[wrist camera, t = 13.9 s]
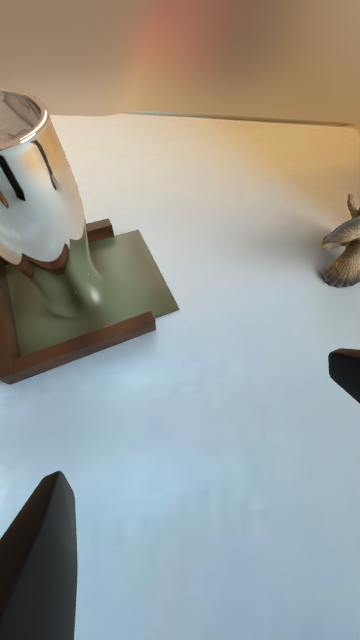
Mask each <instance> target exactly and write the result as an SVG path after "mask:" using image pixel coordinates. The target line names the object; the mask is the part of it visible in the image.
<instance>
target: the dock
mask: <svg viewBox="0 0 360 640" xmlns="http://www.w3.org/2000/svg"><path fill="white" fill-rule="evenodd" d="M86 227H87V234H88V243H89V250H90V256H91V260H92V263H93V265H94V267H95V268H96V270H97V271H98V272H99V274H100V275H101V277H102V278H103V280H104V283H105V296H104V298H103V300H102V302H101V303H100V305H99V306H98V307H97V308H96V309H95V310H93V311H92V312H90V313H88V314H86V315H84V316H81V317H77V318H63V317H59V316H57V315H55V314H53V313H51V312H50V311H49V310H48V309H47V308H46V306H45V305H44V303H43V301H42V298H41V296H40V293H39V291H38V289H37V288H36V286H35V285H34V284H33V283H32V282H31V281H30V280H29V279H28V278H27V277H25V276H24V275H23V274H22V273H21V272H19V271H18V270H17V269H16V268H14V267H13V266H12V265H11V264H9V263H8V262H7V261H6V260H4V259H3V258H2V257H1V256H0V380H1V381H3V382H5V383H8V384H13V383H15V382H18V381H21V380H23V379H26V378H29V377H31V376H34V375H37V374H39V373H42V372H45V371H47V370H50V369H53V368H55V367H58V366H60V365H63V364H66V363H68V362H71V361H74V360H76V359H79V358H82V357H84V356H87V355H90V354H92V353H95V352H98V351H100V350H103V349H106V348H108V347H111V346H114V345H116V344H119V343H121V342H124V341H127V340H129V339H132V338H135V337H137V336H140V335H143V334H145V333H148V332H151V331H153V330H156V324H155V319H154V318H157V317H160V316H163V315H165V314H168V313H171V312H174V311H176V310H179V307H178V305H177V303H176V301H175V300H174V298H173V296H172V294H171V292H170V290H169V288H168V286H167V284H166V282H165V280H164V278H163V276H162V274H161V273H160V271H159V269H158V267H157V265H156V263H155V261H154V259H153V257H152V255H151V253H150V251H149V249H148V247H147V245H146V244H145V242H144V240H143V238H142V236H141V234H140V232H139V230H136V231H132V232H128V233H125V234H121V235H117V236H114V233H113V229H112V225H111V223H110V220H109V219H105V220H101V221H97V222H93V223H89V224H86Z"/></svg>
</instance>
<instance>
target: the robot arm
mask: <svg viewBox="0 0 360 640" xmlns="http://www.w3.org/2000/svg"><path fill="white" fill-rule="evenodd" d="M328 361H329V374H330V377H331V378H332V379H333V380H334V381H335V382H336V383H337V384H338V385H339V386H341V387H342V388H343V389H344V390H345V391H346V392H347V393H348V394H350V395H351V396H352V397H353V398H354V399H355V400H356V401H358V402H359V403H360V350H355V349H343V348H340V349H337V350H335V351H332V352H331V353H329V356H328ZM76 592H77V538H76V514H75V497H74V493H73V491H72V489H71V487H70V485H69V483H68V481H67V479H66V478H65V476H64V474H63V473H62V472H61V471H57V472H54V473H52V474H50V475H47V476H46V477H44V478H43V479H42V480H41V482H40V483H39V484H38V486H37V487H36V489H35V490H34V492H33V493H32V495H31V496H30V497H29V499H28V500H27V502H26V503H25V505H24V506H23V507H22V509H21V510H20V512H19V513H18V515H17V516H16V518H15V519H14V520H13V522H12V523H11V525H10V526H9V528H8V529H7V531H6V532H5V533H4V535H3V536H2V538H1V539H0V640H74V629H75V610H76Z"/></svg>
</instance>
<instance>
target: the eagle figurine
mask: <svg viewBox="0 0 360 640" xmlns="http://www.w3.org/2000/svg"><path fill="white" fill-rule="evenodd" d="M347 204H348V208H349V210H350V212H351V216H352V219H351V220H349V221H347V222H345V223H343V224H342V225H340V226H339V227H337V228H336V229H335V230H334V231H333V232H331V233H330V234H329V235H328V236H327V237H325V238H324V239H323V241H322V245H323V244H326V245H325V246H322V248H328V249H332V248H336V247H338V246H346V249H345V251H344V252H343V253H342V254H341V255H340V256H339V257H338V258H337V259H336V260H335V261H333V262H332V263H330V264H328V265H327V266H325V267H324V268H323V269H321V272H322V273H323V274H322V277H323V278H325V282H326V283H329V285H336V286H342V285H343V284H344V286H345V287H347V286H348V285H350V286H353V285H354V284H356V283H357V282H360V208H359V210H358V211H357V210H356V208H355V205H354V203H353V196H352V194H351V193H349V194H348V201H347Z"/></svg>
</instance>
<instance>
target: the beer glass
mask: <svg viewBox="0 0 360 640" xmlns="http://www.w3.org/2000/svg"><path fill="white" fill-rule="evenodd" d="M0 256H1V257H2V258H3V259H4V260H6V261H7V262H8V263H9V264H11V265H12V266H13V267H14V268H16V269H17V270H18V271H19V272H21V273H22V274H23V275H24V276H25V277H27V278H28V279H29V280H30V281H31V282H32V283H33V284H34V285H35V286H36V288H37V289H38V291H39V293H40V296H41V298H42V301H43V303H44V305H45V306H46V308H47V309H48V310H49V311H50V312H51V313H53V314H55V315H57V316H59V317H63V318H77V317H81V316H84V315H86V314H88V313H90V312H92V311H93V310H95V309H96V308H97V307H98V306H99V305H100V303H101V302H102V300H103V298H104V296H105V283H104V280H103V278H102V277H101V275H100V274H99V272H98V271H97V270H96V268H95V267H94V265H93V263H92V260H91V256H90V250H89V243H88V234H87V227H86V220H85V215H84V209H83V204H82V201H81V197H80V194H79V191H78V187H77V184H76V181H75V178H74V176H73V173H72V170H71V167H70V165H69V162H68V160H67V157H66V155H65V152H64V150H63V148H62V145H61V143H60V141H59V138H58V136H57V134H56V131H55V129H54V126H53V124H52V122H51V119H50V116H49V114H48V110H47V107H46V106H45V104H44V103H43V102H42V101H41V100H40V99H39V98H37V97H36V96H34V95H32V94H30V93H27V92H25V91H22V90H18V89H13V88H7V87H0Z"/></svg>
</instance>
